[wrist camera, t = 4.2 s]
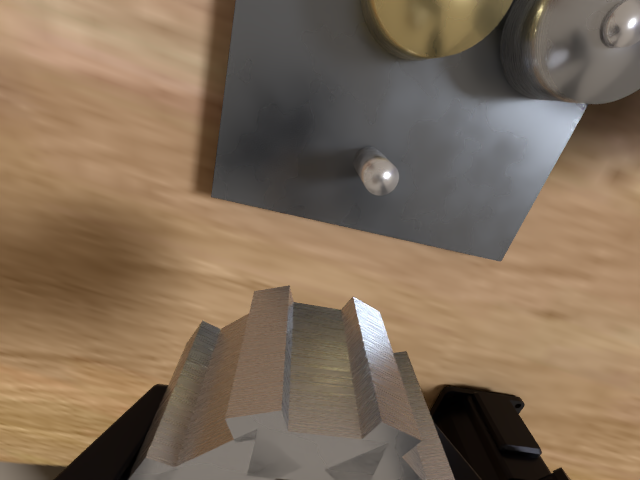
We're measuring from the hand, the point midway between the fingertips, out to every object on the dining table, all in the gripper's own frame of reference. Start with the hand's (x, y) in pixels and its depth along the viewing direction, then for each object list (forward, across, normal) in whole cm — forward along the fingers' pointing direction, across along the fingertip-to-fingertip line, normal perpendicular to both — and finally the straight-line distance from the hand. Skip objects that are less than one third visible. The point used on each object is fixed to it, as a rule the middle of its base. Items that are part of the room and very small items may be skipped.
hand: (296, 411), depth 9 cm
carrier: (+11, -3, -10) cm, 15 cm away
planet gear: (+1, 0, 0) cm, 1 cm away
